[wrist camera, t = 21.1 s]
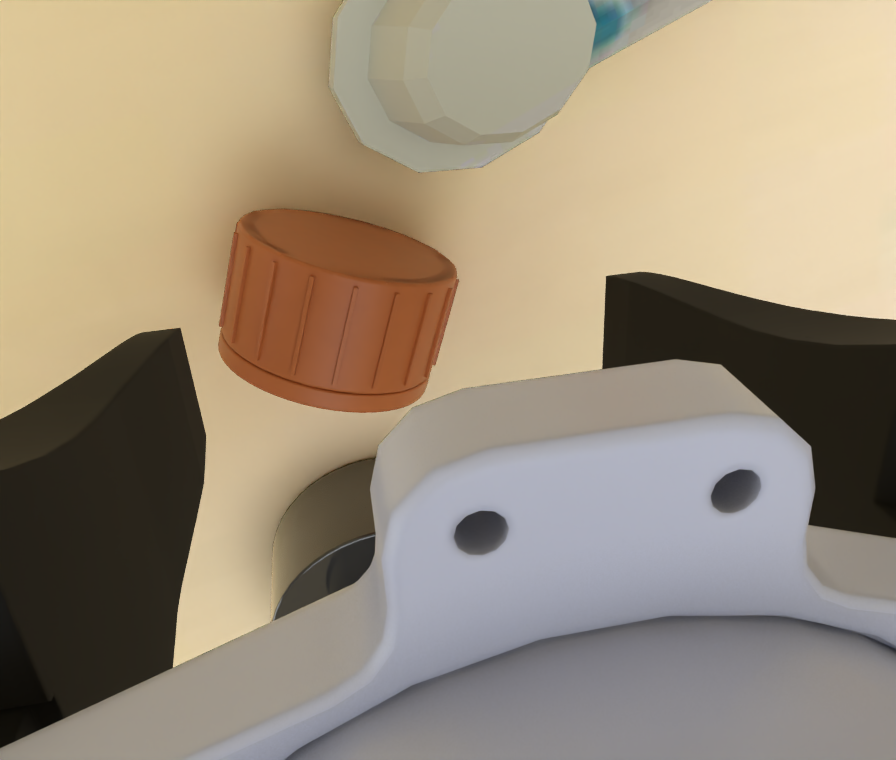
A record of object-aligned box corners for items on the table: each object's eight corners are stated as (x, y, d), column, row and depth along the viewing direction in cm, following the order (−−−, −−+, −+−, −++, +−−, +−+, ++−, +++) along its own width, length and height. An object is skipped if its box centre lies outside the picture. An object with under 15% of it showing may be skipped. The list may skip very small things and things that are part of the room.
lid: (503, 279, 21) (468, 393, 22) (355, 209, 24) (332, 312, 25) (346, 293, 16) (315, 433, 18) (188, 204, 19) (171, 329, 21)
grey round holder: (229, 586, 28) (212, 759, 22) (354, 417, 26) (375, 557, 19) (411, 658, 31) (442, 827, 25) (537, 514, 29) (604, 660, 23)
